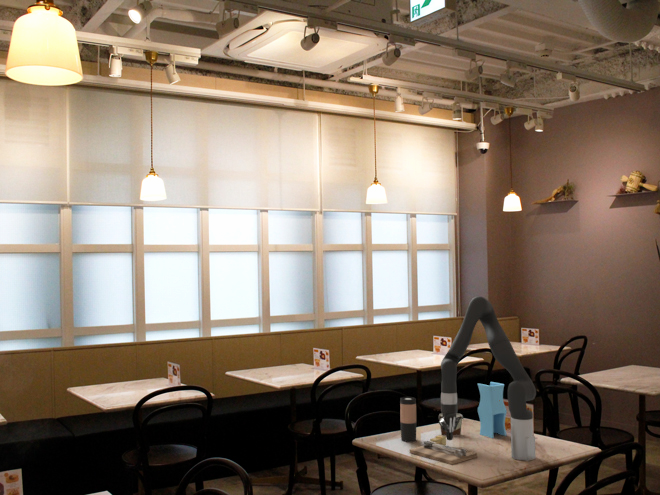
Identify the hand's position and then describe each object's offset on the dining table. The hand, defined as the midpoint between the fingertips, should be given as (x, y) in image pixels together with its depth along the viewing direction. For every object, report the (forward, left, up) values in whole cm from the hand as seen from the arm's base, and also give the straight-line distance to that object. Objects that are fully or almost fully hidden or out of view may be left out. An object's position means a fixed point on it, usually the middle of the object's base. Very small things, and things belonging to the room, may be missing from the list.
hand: (449, 439), depth 303 cm
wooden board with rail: (-7, +13, -3) cm, 15 cm away
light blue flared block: (0, -33, -3) cm, 33 cm away
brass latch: (0, +8, -1) cm, 8 cm away
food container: (+15, -19, -3) cm, 24 cm away
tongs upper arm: (-7, +13, 0) cm, 15 cm away
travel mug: (+21, +5, -3) cm, 22 cm away
